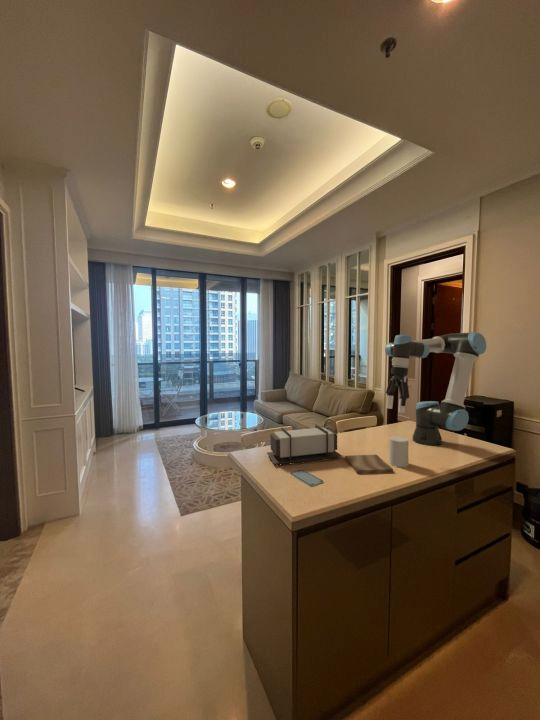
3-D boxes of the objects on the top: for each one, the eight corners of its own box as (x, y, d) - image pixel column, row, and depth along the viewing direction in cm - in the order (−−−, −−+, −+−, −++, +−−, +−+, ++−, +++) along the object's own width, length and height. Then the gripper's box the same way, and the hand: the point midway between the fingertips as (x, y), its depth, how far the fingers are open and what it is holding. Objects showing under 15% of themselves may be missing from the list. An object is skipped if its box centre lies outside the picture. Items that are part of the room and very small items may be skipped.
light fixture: (342, 430, 150) (274, 436, 141) (342, 459, 150) (274, 467, 142) (328, 423, 165) (266, 428, 156) (328, 449, 165) (266, 456, 157)
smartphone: (302, 469, 138) (324, 481, 125) (302, 471, 138) (324, 483, 125) (288, 473, 134) (310, 485, 121) (288, 474, 134) (310, 487, 121)
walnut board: (376, 457, 152) (376, 454, 152) (393, 472, 134) (393, 469, 134) (344, 458, 151) (344, 455, 151) (357, 473, 133) (357, 470, 133)
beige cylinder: (408, 468, 138) (409, 442, 138) (389, 466, 141) (389, 440, 140) (407, 461, 146) (407, 437, 145) (389, 459, 149) (389, 435, 148)
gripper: (382, 365, 160) (377, 406, 160) (404, 366, 135) (398, 414, 135) (396, 367, 160) (391, 407, 160) (420, 368, 135) (415, 416, 135)
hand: (395, 410), depth 147 cm, fingers open, 13 cm apart
